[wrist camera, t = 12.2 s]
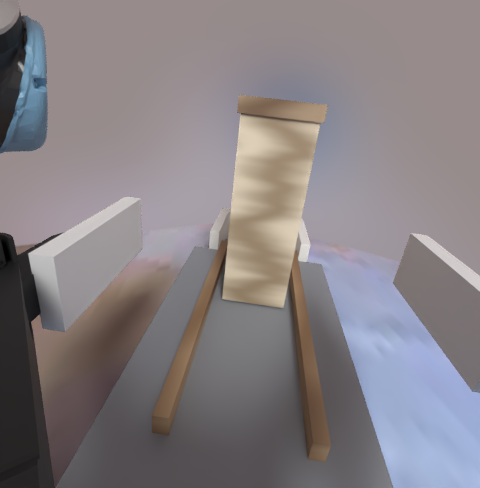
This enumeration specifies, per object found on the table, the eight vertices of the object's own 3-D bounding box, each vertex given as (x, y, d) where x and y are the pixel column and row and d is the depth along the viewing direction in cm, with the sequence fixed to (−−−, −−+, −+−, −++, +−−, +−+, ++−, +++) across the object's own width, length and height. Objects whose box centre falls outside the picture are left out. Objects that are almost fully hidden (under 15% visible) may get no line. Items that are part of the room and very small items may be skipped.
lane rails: (152, 432, 14) (151, 415, 14) (220, 250, 34) (221, 240, 33) (325, 462, 14) (330, 445, 14) (294, 260, 33) (296, 250, 33)
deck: (24, 597, 11) (11, 564, 10) (193, 266, 35) (195, 246, 34) (417, 676, 10) (445, 648, 9) (316, 283, 34) (321, 264, 33)
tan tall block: (219, 300, 25) (239, 94, 18) (231, 256, 32) (248, 100, 26) (285, 310, 24) (327, 105, 18) (282, 263, 32) (311, 107, 26)
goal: (207, 267, 35) (209, 231, 33) (219, 237, 43) (222, 208, 41) (302, 280, 34) (310, 245, 33) (296, 248, 43) (303, 218, 41)
